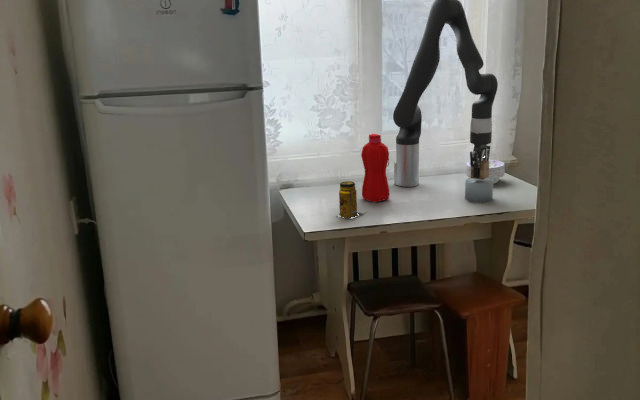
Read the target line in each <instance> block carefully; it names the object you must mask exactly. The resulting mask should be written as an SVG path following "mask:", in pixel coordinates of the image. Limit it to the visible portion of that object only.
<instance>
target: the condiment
mask: <svg viewBox="0 0 640 400" xmlns="http://www.w3.org/2000/svg"><path fill="white" fill-rule="evenodd" d="M338 191H339V192H338V198H339V214H340V216H341V217H344V218H343V219H345V218H351V217H355V216H358V215H357V213H358V214H359V216H358V217H360V216H363V215H364V214H365V215H366V212H361V211H360V212H359V211H358V203H357V200H358V199H357V197H358V196H357V195H358V194H357V189H356V183H355V182H354V181H349V180H346V181H341V182H340V183H339V190H338Z"/></svg>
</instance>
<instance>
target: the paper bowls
mask: <svg viewBox="0 0 640 400" xmlns="http://www.w3.org/2000/svg"><path fill="white" fill-rule="evenodd" d="M465 167H466V169H465V171H466V172H465V174H466V176H467V177H468V178H471V163H470V161H468V162H466V164H465ZM505 167H506V164H505V162H502V161H501V160H496V159H489V177H487V178H488V179H491V180H493V185H495V184H497V183H498V182H499V181H500V178H502V177H504V176H505V173H506V172H505V170H506V169H505Z"/></svg>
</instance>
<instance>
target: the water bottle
mask: <svg viewBox="0 0 640 400" xmlns="http://www.w3.org/2000/svg"><path fill="white" fill-rule="evenodd" d="M360 155H361V161H362V164H363V168H364V176H363V182H362V186H361V187H362V189H361V197H362V199H364V200H366V201H369V202H370V203H378V202H382V201H387V200H389V198H390V186H389V182H388V176H387V167H388V166H390V157H389V156H390V152H389V148H388V146H387V145H385V143H383V142H382V136H381V134H377V133H371V134H368V142H367V143H365V145H364V146H362V150H361V154H360Z"/></svg>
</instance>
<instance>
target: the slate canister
mask: <svg viewBox="0 0 640 400" xmlns="http://www.w3.org/2000/svg"><path fill="white" fill-rule="evenodd" d="M464 186H465V187H464V200H465V201H468V202H470V203H471V202H472V203H476V204H478V203H479V204H480V203H481V204H482V203H489V202H491V201H493V196H494V184H493V180H491V179H488V178H486V179H484V180H482V179H473V178H470V177H468V178H467V179H465V183H464Z"/></svg>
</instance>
